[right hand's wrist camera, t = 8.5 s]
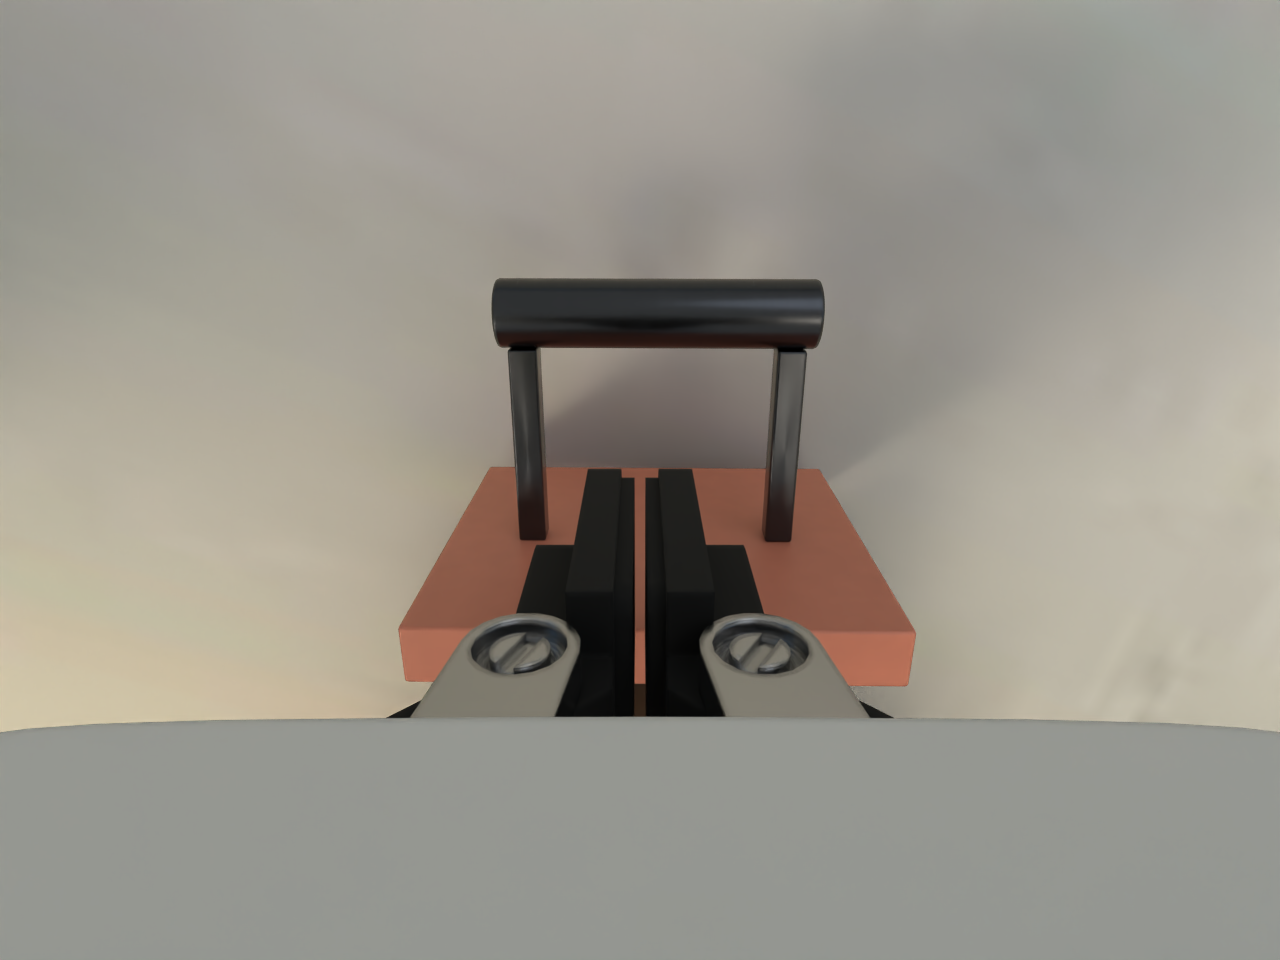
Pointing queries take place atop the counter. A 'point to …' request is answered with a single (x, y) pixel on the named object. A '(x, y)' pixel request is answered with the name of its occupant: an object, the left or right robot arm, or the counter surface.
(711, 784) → the right robot arm
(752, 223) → the counter surface
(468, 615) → the drawer
